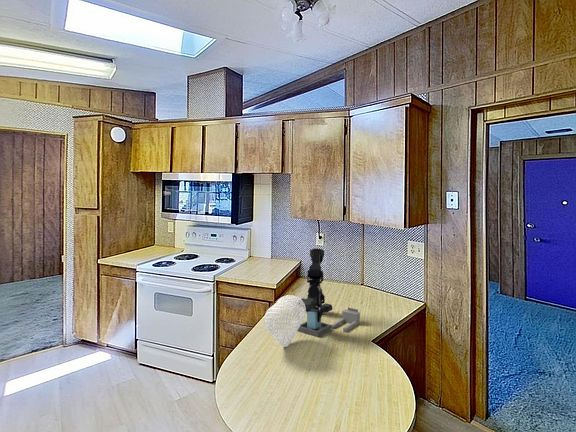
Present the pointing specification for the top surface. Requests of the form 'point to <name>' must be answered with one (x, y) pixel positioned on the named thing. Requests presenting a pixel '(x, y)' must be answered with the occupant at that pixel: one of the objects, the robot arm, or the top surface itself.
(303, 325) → the tray
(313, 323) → the light blue block
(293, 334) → the heart
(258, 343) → the top surface
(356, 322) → the dock
